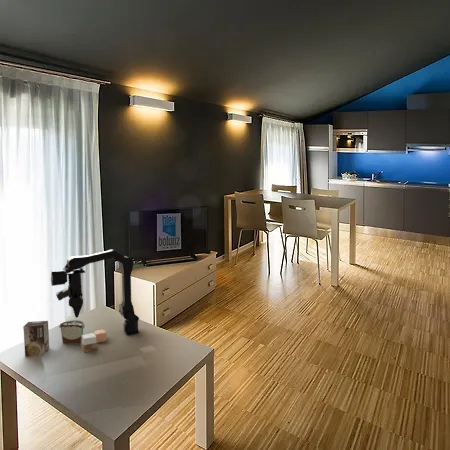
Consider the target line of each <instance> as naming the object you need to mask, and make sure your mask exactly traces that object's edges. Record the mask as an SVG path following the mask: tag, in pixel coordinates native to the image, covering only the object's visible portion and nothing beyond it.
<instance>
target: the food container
mask: <svg viewBox="0 0 450 450" xmlns="http://www.w3.org/2000/svg"><path fill="white" fill-rule="evenodd" d="M58 326H59V327H58V328H59V329H60V334H61V339H62V340H61V341H62V343H63V344H68V345H81V341H82V335H84V329H85V322H84V321H83V320H77V319H76V320H75V319H74V320H67V321H63V322H61V323H60V324H59V325H58Z"/></svg>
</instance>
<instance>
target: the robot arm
mask: <svg viewBox="0 0 450 450" xmlns="http://www.w3.org/2000/svg"><path fill="white" fill-rule="evenodd" d="M109 259H113V260H115V261H116V262H118V266H119V270H120V273H121V285H122V286H121V287H122V288H121V291H122V300H121V301H122V302H121V303H119V304H118V312H119V314H120V315H121V317H122V318H124V323H123V332H124V333H125V334H126V335H132V334H136V333H140V330H139V320H140V317H139V316H138V315H136V314H135V309H134V305H133V303H132V272H133V269H134V260H133V258H131V257H129V256H127V255H123V254H121V253H119V252H118V251H116V250H115V249H112V248H111V249H108V250H105V251H101V252H95V253H93V254H92V253H91V254H88V255H75V256H74V255H71V256H69V257H68V259H67V261H66V264H65V266H64V267H63V268H62V270H52V271H51V274H50V284H51V286H52V287H55V286H62V285H66V283H67V282H68V285H67V288H64V289H62V290H60V291H57V292H56V293H55V296H56V298H57V300H58V301H61V300H64V299H65V298H69V299H68V306H69V307H70V308H72V310H73V313H74V317H75V318H76V319H77V318H79V315H80V312H81V310H82V308H83V305H84V297H83V290H82V286H83V285H82V274H84V273H85V274H86V270H84V269H83V267H85V266H87V265H90V264H93V263H97V262H103V261H105V260H109Z"/></svg>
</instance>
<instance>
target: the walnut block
mask: <svg viewBox="0 0 450 450" xmlns="http://www.w3.org/2000/svg"><path fill="white" fill-rule="evenodd" d="M80 348H81V350H82V353H87V352H92V351H96V350H98V343H97V342H96V343H93V344H88V345H84V344H83V343H82V341H81V344H80Z"/></svg>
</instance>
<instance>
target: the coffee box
mask: <svg viewBox="0 0 450 450" xmlns="http://www.w3.org/2000/svg"><path fill="white" fill-rule="evenodd" d="M22 329H23V342H24V344H23V345H24V356H25V357H26V356H27V358H28V357H31V358H32V357H42V354H46V353H47V352H48V351H49V350H50V335H49V334H50V333H49V320H39V321H34V320H33V321H28V322H27V323H26V324H24V325H23V327H22Z"/></svg>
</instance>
